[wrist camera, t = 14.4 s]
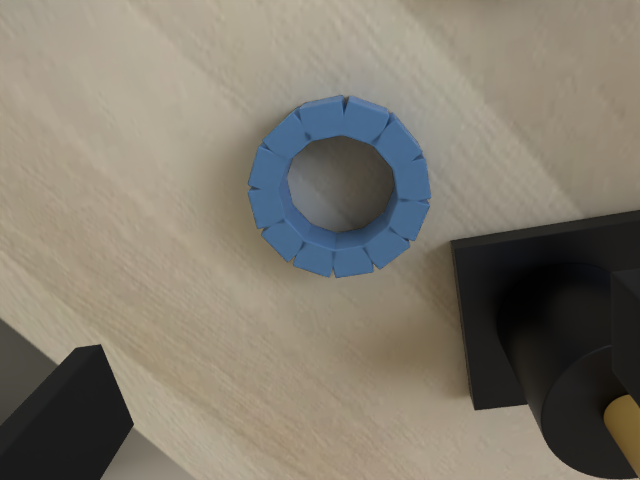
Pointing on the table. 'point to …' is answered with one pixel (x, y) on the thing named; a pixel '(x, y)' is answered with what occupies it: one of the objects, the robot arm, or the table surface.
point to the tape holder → (553, 334)
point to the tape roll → (321, 244)
